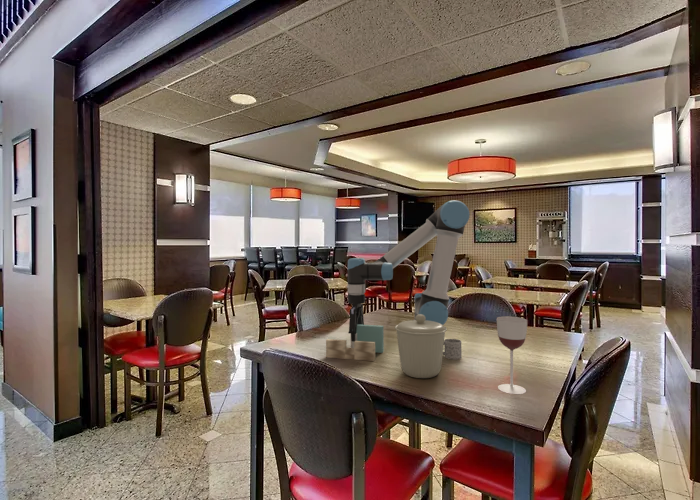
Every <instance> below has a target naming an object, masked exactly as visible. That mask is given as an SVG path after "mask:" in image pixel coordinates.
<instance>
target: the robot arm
mask: <svg viewBox="0 0 700 500" xmlns="http://www.w3.org/2000/svg"><path fill="white" fill-rule="evenodd" d="M470 215H471V213H470V210H469V207H468V206H467V205H466V204H465V203H464V202H462V201H461V200H453V199H452V200H448V201H447V202H444V204H441V205H440V206H439V207H438V208H437V209H436V210H435V211H434V212H433V213H432V214H431V215H430V216H429V217H428V218H426V220H425V223H423V224H422V225H420V227H418V228H417V229H416V230H414V231H413V232H412V233H410V234H409V235H408V236H407V237H406V238H403V240H401V241H400V242H399V243H398V244H396V245H395V246H394V247H393V248H391V249H390V250H388V251H387V252H386V253H384V254H383V255H381V257H380V258H379V259H377V260H376V261H374V262H366V259H365V258H362V257H353V258H351V257H350V258H349V259H347V269H346V270H347V271H346V272H347V286H346V288H347V293H348V294H347V303H349V304H351V307H350V308H349V322H348V334H350V348H354V342H355V341H357V333H356V331H357V324H360V325H365V320H364V318H365V317H364V303H366V294H365V293H366V281H391V280H393V276H394V269H395V268H396V267H397V266H398V265H400V264H401V263H402V262H404V261H405V260H407V258H409V257H411V255H413V254H414V253H415V252H416V251H418V250H419V249H420V248H422V247H424V246H425V245H426V244H427V243H428V242H430V241H431V240H432V239H433V238H435V237H436V241H435V248H434V252H433V257H432V261H431V267H430V271H429V276H428V280H427V285H426V288H425V290H423V291H421V292H420V293H419V292H418V293H415V294H414V299H413V300H414V320H416V319H415V317H416V315H418V314H422V315H424V316H425V318H426V319H425V320H428V321H434V322H438V323H440V324H442V325H443V326H445V324H446V323H447V321H448V318H449V311H448V306H449V303H450V302H449V301H450V297H449V296H448V288H449V284H450V279H451V276H452V270H453V265H454V262H455V256H456V251H457V247H458V242H459V239H460V238H461V237H463V236H464V233H465V227H466V225H467V224H468V222H469V219H470Z"/></svg>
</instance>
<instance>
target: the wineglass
mask: <svg viewBox="0 0 700 500" xmlns="http://www.w3.org/2000/svg"><path fill="white" fill-rule="evenodd" d="M527 329H528V320H527V318H526V319H525V318H524V317H518V316H508V315H506V316H503V315H502V316H497V317H496V330H497V337H498V340H499V341H500V343H501V344H502V345H503V346H504V347H505V348H507V349H509V351H510V352H509V361H510V362H509V364H510V365H509V366H510V367H509V368H510V369H509V372H510V373H509V375H510V377H509V379H510V383H502V384H499V385H498V386H497V389H498V390H500V391H501V392H503V393H507V394H511V395H522V394H525V393H526V392H527V390H526V388H524V387H523V386H520V385H517V384H514V350H516V349H518V348H519V349H520V347H522V346H523V345H524V344H525V341H526V338H527V331H528V330H527Z"/></svg>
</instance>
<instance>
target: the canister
mask: <svg viewBox="0 0 700 500" xmlns="http://www.w3.org/2000/svg"><path fill="white" fill-rule="evenodd" d="M415 319H416V320H415ZM425 319H426V318H425V316H424V315H422V314H418V315H416V317H415V316H414V319H413V320H411V319H408V320H403V321H401V322H399V323H398V324H396V325H394V329H395V331H396V336H397V337H396V338H397V345H398V355H399V362H400V367H401V370H402V372H403V373H404V374H405V375H406V376H408V377H411V378H415V379H429V378H430V379H431V378H434V377H437V376H438V375H439V373H440V372H441V368H442V363H443V356H444V355H443V352H444V340H445V335H446V334H445V333H446V332H447V330H448V329H447V326H445V325H442V324H440V323H438V322H434V321H428V320H425Z"/></svg>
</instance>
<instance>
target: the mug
mask: <svg viewBox="0 0 700 500" xmlns="http://www.w3.org/2000/svg"><path fill="white" fill-rule="evenodd" d="M462 353H463V351H462V340H461V339H457V338H446V339H445V338H444V346H443V355H442V356H444V358H445V359H447V360H461V359H462V355H463V354H462Z"/></svg>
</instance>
